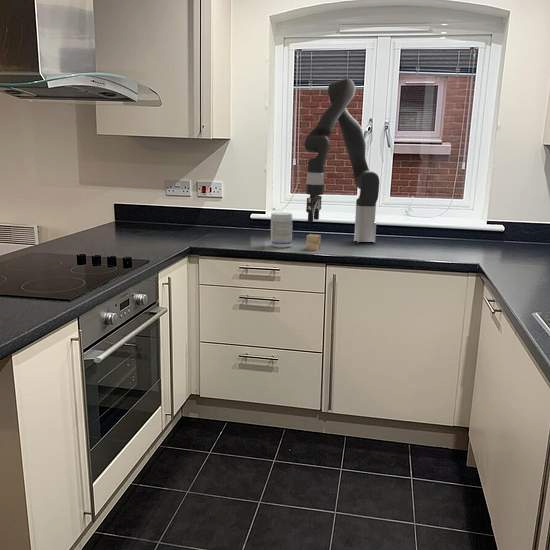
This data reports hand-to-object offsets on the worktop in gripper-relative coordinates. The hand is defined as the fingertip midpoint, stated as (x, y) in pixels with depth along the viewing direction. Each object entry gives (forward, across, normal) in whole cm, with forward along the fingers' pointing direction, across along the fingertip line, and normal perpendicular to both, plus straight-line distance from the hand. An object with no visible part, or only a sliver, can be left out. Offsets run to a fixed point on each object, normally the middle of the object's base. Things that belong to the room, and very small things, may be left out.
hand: (313, 220), depth 254 cm
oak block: (+12, 0, +1) cm, 12 cm away
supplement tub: (+13, +1, -14) cm, 19 cm away
